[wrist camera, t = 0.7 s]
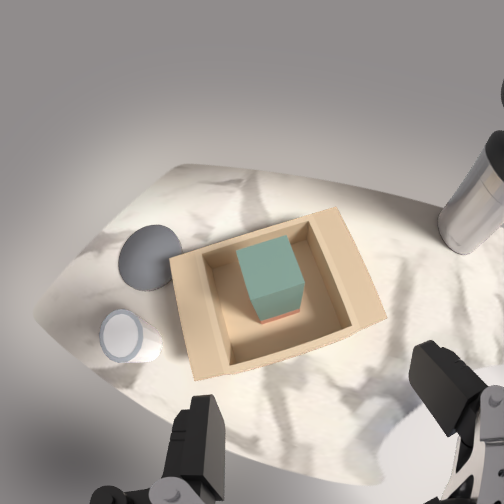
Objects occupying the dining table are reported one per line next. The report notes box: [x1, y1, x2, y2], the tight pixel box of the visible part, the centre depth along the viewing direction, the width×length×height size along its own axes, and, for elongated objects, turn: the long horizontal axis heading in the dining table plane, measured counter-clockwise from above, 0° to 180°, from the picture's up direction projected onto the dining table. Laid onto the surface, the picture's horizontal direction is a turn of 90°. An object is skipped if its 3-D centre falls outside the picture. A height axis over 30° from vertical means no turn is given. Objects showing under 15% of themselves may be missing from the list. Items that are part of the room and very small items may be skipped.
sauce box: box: [236, 235, 305, 324], centre depth 30 cm, size 5×5×12 cm
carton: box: [169, 207, 387, 381], centre depth 33 cm, size 23×16×6 cm
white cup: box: [99, 309, 163, 363], centre depth 32 cm, size 7×7×7 cm
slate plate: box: [119, 225, 182, 291], centre depth 41 cm, size 11×11×1 cm
